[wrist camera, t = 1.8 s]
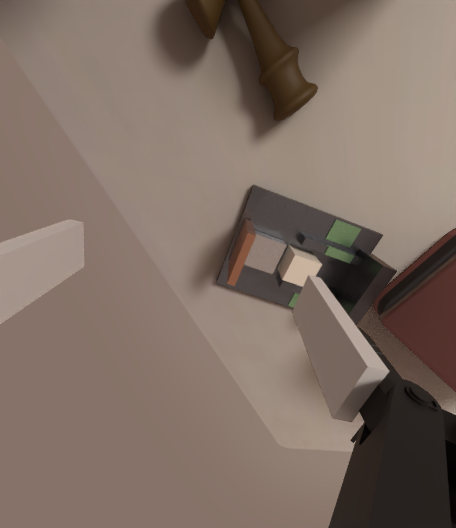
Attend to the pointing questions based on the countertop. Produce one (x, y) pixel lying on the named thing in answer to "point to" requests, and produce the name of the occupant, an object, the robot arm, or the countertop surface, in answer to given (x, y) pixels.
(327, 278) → the grey slider puzzle board
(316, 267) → the cream cube block
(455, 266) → the toaster
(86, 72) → the countertop surface
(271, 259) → the two-tone wooden block
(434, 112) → the countertop surface
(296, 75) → the kendama
